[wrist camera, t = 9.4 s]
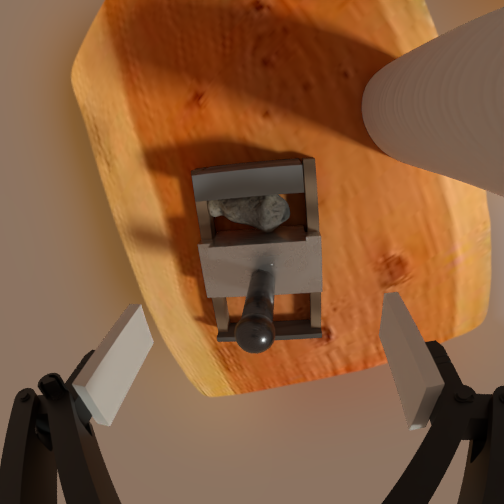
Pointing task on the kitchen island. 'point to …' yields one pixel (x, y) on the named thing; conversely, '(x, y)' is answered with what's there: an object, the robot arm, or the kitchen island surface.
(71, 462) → the robot arm
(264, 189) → the grey rectangular frame
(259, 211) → the stone
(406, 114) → the vase
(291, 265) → the ram
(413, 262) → the kitchen island surface
